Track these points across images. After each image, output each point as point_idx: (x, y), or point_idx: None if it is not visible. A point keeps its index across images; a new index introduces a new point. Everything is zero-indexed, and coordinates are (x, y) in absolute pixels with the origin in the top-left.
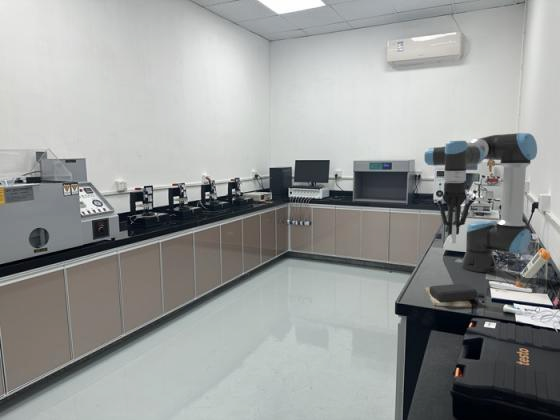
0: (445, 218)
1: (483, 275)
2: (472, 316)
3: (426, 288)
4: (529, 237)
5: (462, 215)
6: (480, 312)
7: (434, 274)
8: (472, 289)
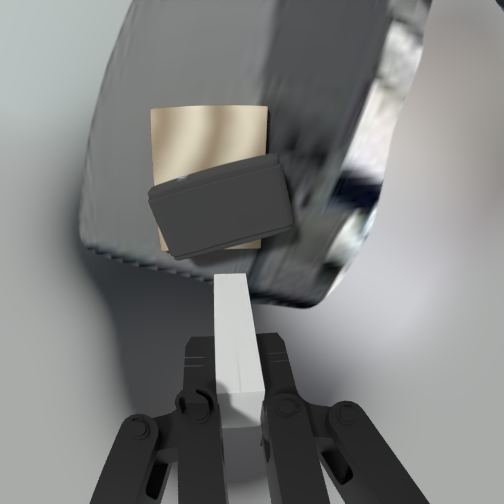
0: (151, 499)
1: None
2: None
3: (151, 122)
4: None
5: (361, 500)
6: (269, 273)
7: None
8: (281, 227)
